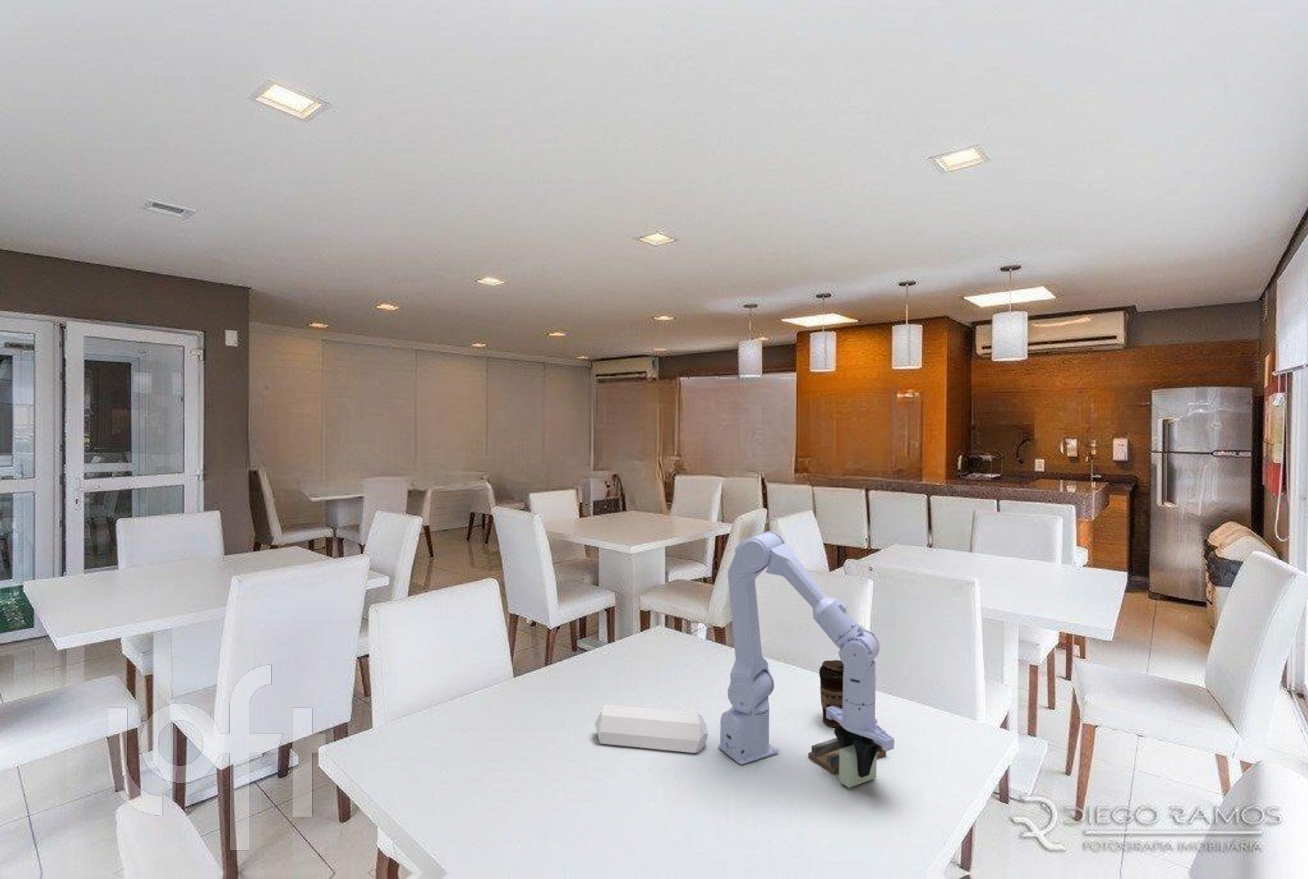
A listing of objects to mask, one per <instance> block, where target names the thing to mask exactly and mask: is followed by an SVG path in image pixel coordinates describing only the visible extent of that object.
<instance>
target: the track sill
mask: <svg viewBox="0 0 1308 879" xmlns="http://www.w3.org/2000/svg"><path fill="white" fill-rule="evenodd" d="M861 738H862V736H861ZM840 749H841V746H840V743H839V741H838V739H837V737H835V738H830V739H829V740H825V741H823V742H819V743H816V744H813V745H811V751H810V752H809V751H808V752H807V755H808V756H807V758H808V759H809V760H811V761H812V762H814V763H815V764H817V765H818V766H820V767H822V768H823V769H825V770H826V771H828V772H829V773H830V774H832V775H833V776H835V775H837V774H838V775H839V750H840ZM886 756H887V751H884V750H883V749H882V746H881V747H880V749H879V750H878V752H877V760H878V759H882V758H884V757H886Z"/></svg>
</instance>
